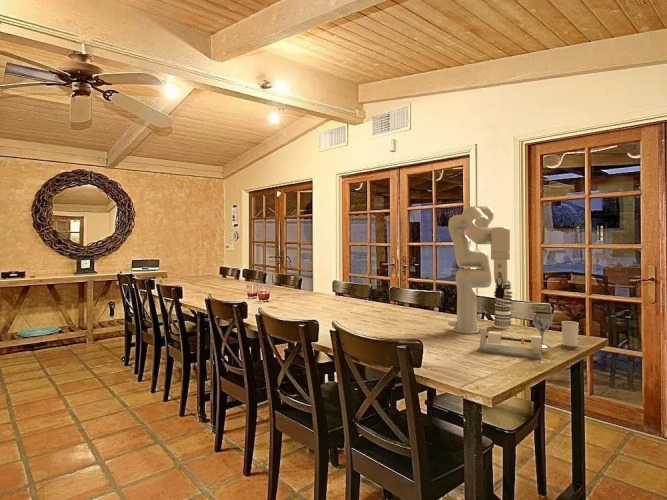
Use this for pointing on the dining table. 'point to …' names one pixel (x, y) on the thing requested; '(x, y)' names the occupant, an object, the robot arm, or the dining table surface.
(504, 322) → the decorative candle
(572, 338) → the beige cup
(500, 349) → the board
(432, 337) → the dining table surface
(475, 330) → the robot arm
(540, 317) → the wine glass
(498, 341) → the sleeve
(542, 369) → the dining table surface
